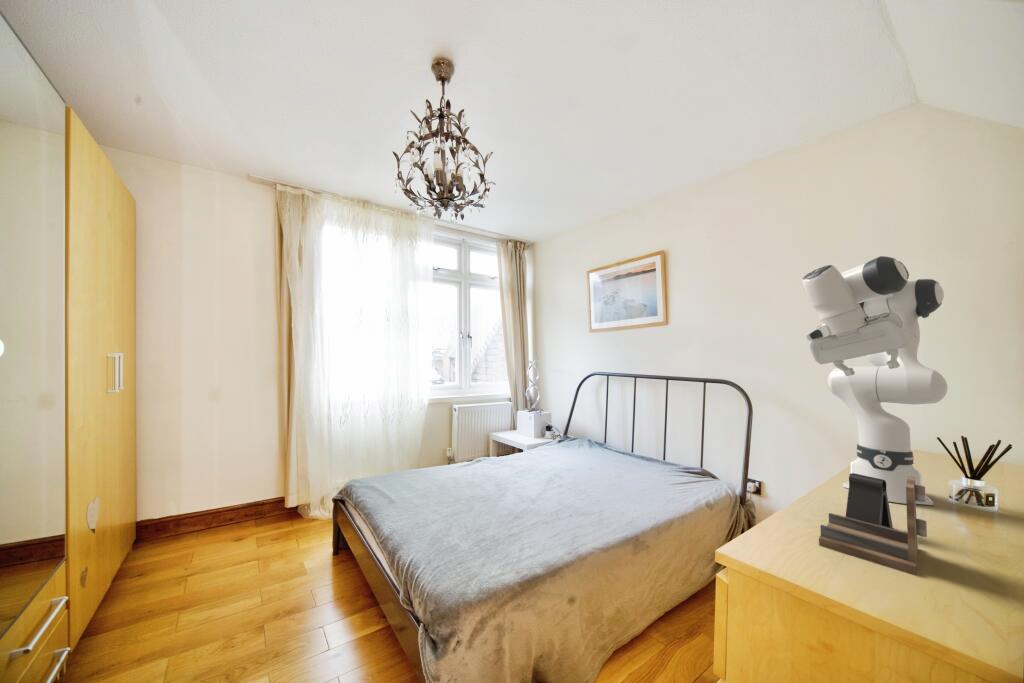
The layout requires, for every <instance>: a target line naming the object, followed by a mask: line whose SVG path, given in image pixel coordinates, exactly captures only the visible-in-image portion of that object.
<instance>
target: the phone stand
mask: <svg viewBox="0 0 1024 683" xmlns="http://www.w3.org/2000/svg"><path fill="white" fill-rule="evenodd" d="M848 482H849V489H848V494H847V501H846V508H845V509H846V510H845V517H848V518H852V519H856V520H860V521H864V522H868V523H872V524H876V525H879V526H883V527H887V528H891V529H894V526H893V520H892V515H891V510H890V504H889V503H890V502H889V501H888V497H887V489H886V488H887V485H886V481H885V480H882V479H878V478H873V477H869V476H864V475H859V474H855V473H852V474H851V472H850V473H849V475H848Z"/></svg>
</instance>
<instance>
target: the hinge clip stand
mask: <svg viewBox="0 0 1024 683" xmlns="http://www.w3.org/2000/svg"><path fill="white" fill-rule="evenodd" d="M925 495H926V486H924V485H922V486H921V485H915V477H911V476H908V478H907V484H906V504H905V505H906V526H907V527H906V528H907V529H906V530H907V531H902V530H899V529H895V528H892V529H891V528H887V527H883V526H879V525H876V524H872V523H868V522H864V521H860V520H856V519H852V518H848V517H846V516H845V515H844V516H843V515H839V514H836V513H832V512H828V523H827V525H824V524H821V525H820V536H818V545H819V546H821V547H823V548H828V549H830V550H832V551H837V552H840V553H843V554H847V555H849V556H853V557H857V558H860V559H863V560H865V561H869V562H872V563H875V564H879V565H882V566H886V567H889V568H892V569H895V570H899V571H902V572H905V573H909V574H911V575H915V576H917V571H918V570H917V568H918V552H919V551H918V549H919V548H918V546H919V545H918V536H919V537H924V538H926V537H928V528H927V520H925V519H920V518H917V504H916V501H919V502H926V498H925Z"/></svg>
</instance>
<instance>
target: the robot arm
mask: <svg viewBox="0 0 1024 683" xmlns="http://www.w3.org/2000/svg"><path fill="white" fill-rule="evenodd" d="M909 277H910V273H909V271H908V269H907V267H906V266H905V264H904V263H903V262H901V261H899V260H897V259H896V258H895V257H890V256H883V255H882V256H881V255H880V256H878V257H875V258H874V259H871V260H869V261H868V262H867V261H866V262H865V263H863V264H860V265H857V266H855V267H852V268H850V269H847V270H845V271H842V272H840V271H839V270H838V269H837V267H835V266H834V264H828V265H825V266H824V265H823V266H821V267H818V268H816V269H814V270H813V271H811V272H809V273H806V275H804V276H803V277H802V278H801V279H802V280H801V282H802V285H803V290H804V292H805V294H806V296H807V298H808V301H809V303H810V305H811V306H812V307H813V309H814V310H816V312H817V314H818V319H819V321H820V323H821V324H820V325H819V326H817V327H816V328H814V329H813V330H811V331H809V332H808V333H807V334H806V335H805V338H806V339H807V341H808V342H809V349H810V352H811V354H812V357H813V358H814V361H815V362H816V363H817V364H820V365H826V364H830V363H832V364H833V365H834V367H835V368H833V369H832V370H831V371H830V373H829V374H828V376H827V380H826V384H827V387H828V389H829V391H830V393H832V394H833V395H834V396H835V397H837V398H838V399H840V400H841V401H843V403H845V404H846V405H847V406H848V408H849V409H850V411H851V412H852V414H853V415H854V418H855V421H856V422H855V423H856V425H857V426H856V427H857V437H858V438H857V439H858V444H856V456H857V458H856V459H854V460H852V461H851V462H850V473H851V474H852V473H855V474H859V475H864V476H869V477H873V478H878V479H882V480H885V481H886V485H887V488H886V489H887V497H888V502H889V503H890V502H892V503H895V504H896V503H898V504H903V505H904V504H905V505H906V484H907V478H908V476H911V477H915V485H921V486H923V484H922V474H921V473H920V472H919V471H918V470H917V469H916V468H915V467H914V466H913V464H914V458H915V457H914V453H913V451H912V450H911V449H912V447H911V428H910V426H909V424H908V423H907V422H906V421H905V420H903V419H902V418H900V417H898V416H897V415H894V414H891V413H889V412H887V411H886V410H885V409H884V408H883V406H882V404H881V403H887V404H888V403H889V404H900V405H901V404H902V405H913V406H914V405H927V404H928V405H930V404H938V403H939V402H940V401H941V400H942V399H944V397H945V396H946V395H947V392H948V383H947V381H946V379H945V377H944V376H943V375H942V374H941V373H940V372H938V371H937V370H935V369H933V368H930V367H927V366H925V365H923V364H922V363H920V361H919V360H918V349H919V345H920V339H921V331H920V329H921V328H920V323H919V322H918V319H919V318H921V317H922V318H923V319H926V318H929V316H930V314H931V313H934V312H935V311H937V310H938V309H939V308H940V307H941V305H942V304H943V300H944V296H945V293H944V289H943V287H942V286H941V284H940V283H939V282H938V281H937V280H935V279H931V278H924V279H923V278H920V279H917V280H909ZM865 356H866V359H867V360H868V362H869V363H870V364H872V366H871V365H848V366H847V365H846V364H844V362H845V361H847V360H851V359H854V358H855V359H856V358H860V357H865ZM842 487H843V488H846V489H848V490H849V481H846V482H843V484H842ZM925 498H926V502H919V501H916V505H924V506H925V505H926V506H934V502H933V500H932V499H931V498H930V497H929V496H928V495H927V494H925Z"/></svg>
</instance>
